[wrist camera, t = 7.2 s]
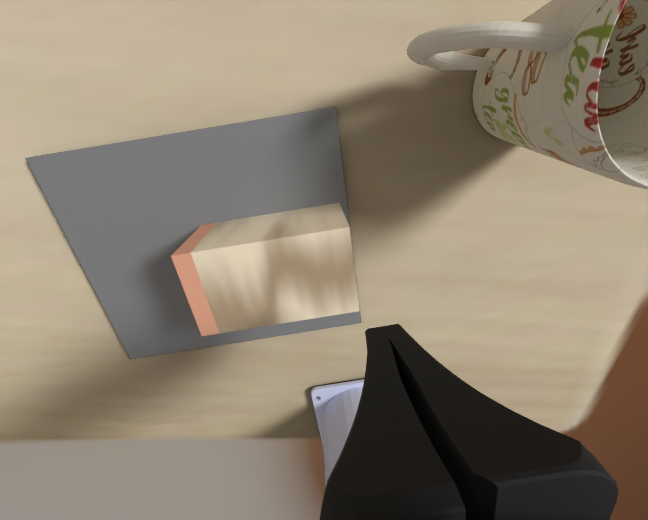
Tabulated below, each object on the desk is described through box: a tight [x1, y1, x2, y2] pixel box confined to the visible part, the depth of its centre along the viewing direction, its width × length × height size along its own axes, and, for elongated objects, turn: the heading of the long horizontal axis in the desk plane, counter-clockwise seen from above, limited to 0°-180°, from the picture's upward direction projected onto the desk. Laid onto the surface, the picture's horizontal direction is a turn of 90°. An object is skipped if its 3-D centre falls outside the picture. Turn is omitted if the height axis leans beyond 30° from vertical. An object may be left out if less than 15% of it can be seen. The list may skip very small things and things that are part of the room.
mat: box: [25, 107, 361, 359], centre depth 21 cm, size 15×18×1 cm
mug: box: [407, 0, 648, 189], centre depth 14 cm, size 8×13×10 cm, turn 86°
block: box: [171, 203, 360, 336], centre depth 19 cm, size 5×5×9 cm
